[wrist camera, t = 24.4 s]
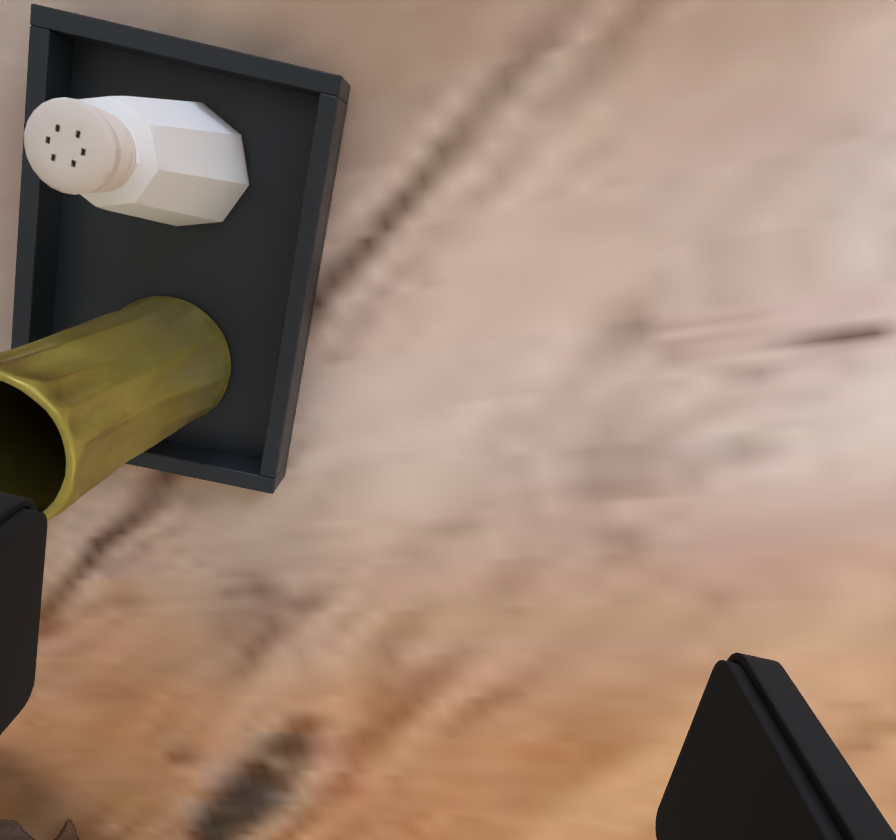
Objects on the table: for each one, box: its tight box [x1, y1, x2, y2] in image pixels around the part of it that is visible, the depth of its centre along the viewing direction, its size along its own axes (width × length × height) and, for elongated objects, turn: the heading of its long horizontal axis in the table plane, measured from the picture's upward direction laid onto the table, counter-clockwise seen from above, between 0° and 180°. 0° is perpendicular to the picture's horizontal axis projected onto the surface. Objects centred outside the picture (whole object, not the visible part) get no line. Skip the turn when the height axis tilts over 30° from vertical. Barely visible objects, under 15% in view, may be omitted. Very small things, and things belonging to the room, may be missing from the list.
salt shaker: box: [24, 96, 249, 226], centre depth 28 cm, size 5×5×11 cm
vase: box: [0, 296, 231, 521], centre depth 29 cm, size 6×6×14 cm
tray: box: [11, 4, 350, 494], centre depth 34 cm, size 19×13×2 cm
